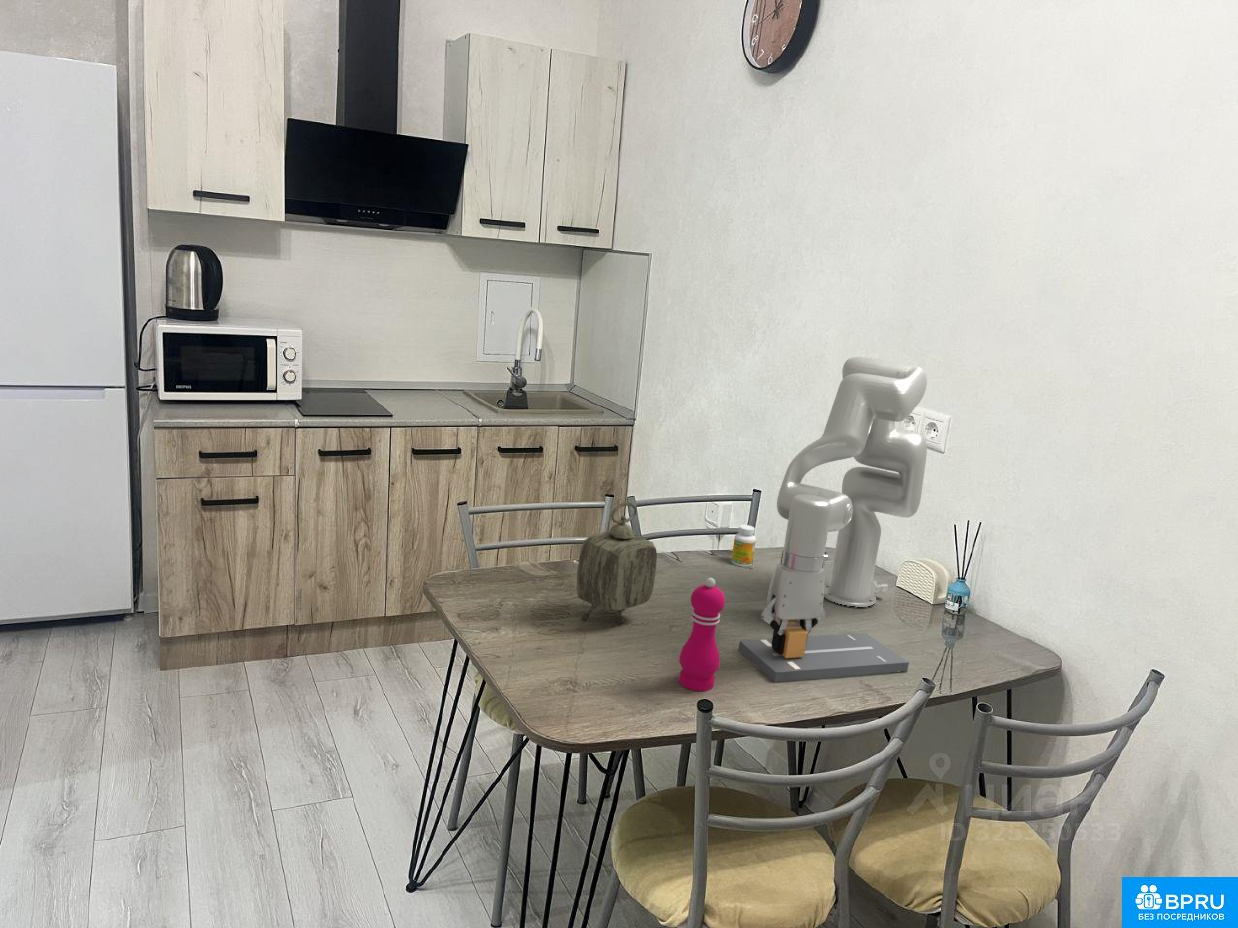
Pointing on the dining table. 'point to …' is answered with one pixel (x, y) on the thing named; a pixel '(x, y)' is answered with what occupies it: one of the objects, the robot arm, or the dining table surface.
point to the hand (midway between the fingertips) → (788, 649)
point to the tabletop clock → (616, 568)
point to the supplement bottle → (744, 546)
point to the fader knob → (794, 641)
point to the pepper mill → (702, 639)
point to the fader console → (825, 658)
